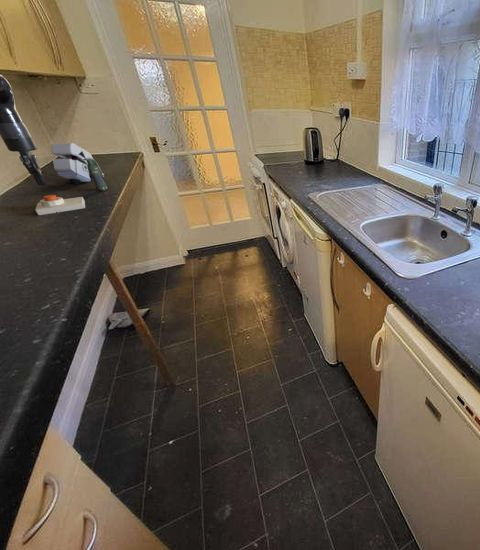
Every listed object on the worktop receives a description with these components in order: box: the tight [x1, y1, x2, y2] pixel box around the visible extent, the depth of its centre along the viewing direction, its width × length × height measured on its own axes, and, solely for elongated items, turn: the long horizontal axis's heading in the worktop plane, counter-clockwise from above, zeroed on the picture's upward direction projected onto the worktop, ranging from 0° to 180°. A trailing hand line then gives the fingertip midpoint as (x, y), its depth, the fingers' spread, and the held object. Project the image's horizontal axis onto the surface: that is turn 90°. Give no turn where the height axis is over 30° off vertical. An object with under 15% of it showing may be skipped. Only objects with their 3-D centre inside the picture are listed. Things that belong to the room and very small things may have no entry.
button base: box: [35, 196, 86, 216], centre depth 121 cm, size 14×11×4 cm
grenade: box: [83, 157, 108, 192], centre depth 140 cm, size 4×4×15 cm
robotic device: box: [50, 142, 105, 185], centre depth 155 cm, size 10×21×20 cm
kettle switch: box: [43, 194, 58, 201], centre depth 118 cm, size 4×4×2 cm
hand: (42, 184), depth 115 cm, fingers closed
